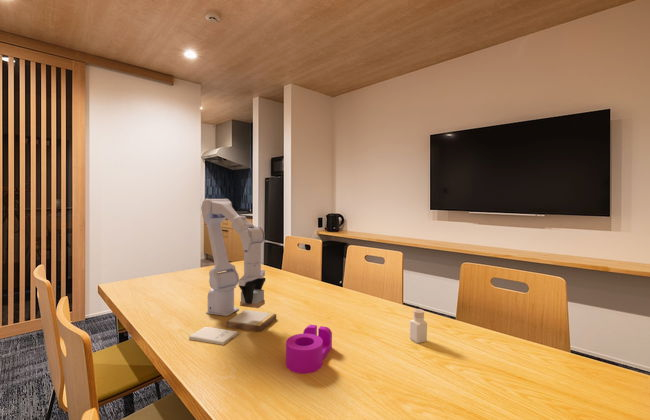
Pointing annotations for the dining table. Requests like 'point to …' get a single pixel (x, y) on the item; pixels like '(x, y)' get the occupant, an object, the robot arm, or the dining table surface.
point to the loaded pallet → (254, 299)
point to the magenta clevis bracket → (308, 349)
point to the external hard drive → (213, 335)
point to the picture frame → (251, 320)
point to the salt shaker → (418, 327)
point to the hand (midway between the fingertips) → (252, 300)
